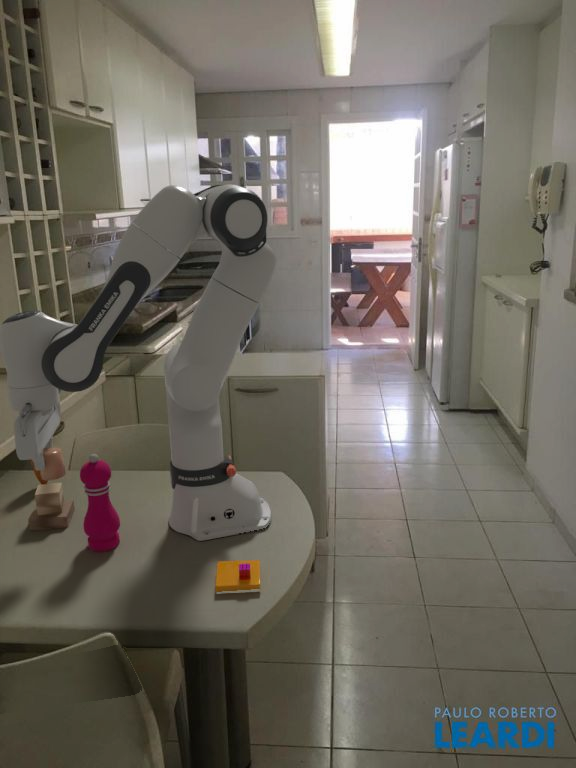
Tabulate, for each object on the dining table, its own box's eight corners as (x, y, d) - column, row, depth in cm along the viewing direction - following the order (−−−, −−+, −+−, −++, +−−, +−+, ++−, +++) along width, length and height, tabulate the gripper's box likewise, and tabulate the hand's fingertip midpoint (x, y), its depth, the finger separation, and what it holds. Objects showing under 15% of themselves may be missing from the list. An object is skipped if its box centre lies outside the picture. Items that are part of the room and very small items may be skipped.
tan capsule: (67, 469, 128) (63, 446, 126) (63, 478, 123) (58, 455, 122) (44, 471, 127) (40, 449, 126) (39, 481, 123) (34, 458, 121)
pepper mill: (96, 533, 134) (85, 446, 128) (128, 536, 133) (118, 448, 127) (79, 551, 127) (67, 460, 121) (112, 554, 126) (101, 462, 120)
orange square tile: (215, 597, 113) (214, 576, 111) (218, 571, 120) (217, 552, 119) (260, 594, 113) (259, 574, 112) (260, 569, 121) (259, 550, 119)
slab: (75, 511, 145) (73, 499, 144) (68, 528, 137) (66, 516, 136) (38, 514, 144) (37, 502, 143) (30, 532, 136) (28, 519, 135)
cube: (64, 502, 143) (61, 482, 141) (61, 512, 138) (59, 492, 136) (41, 505, 141) (38, 485, 140) (37, 515, 137) (34, 494, 135)
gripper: (37, 412, 111) (48, 484, 115) (62, 380, 130) (71, 442, 134) (0, 415, 110) (13, 487, 114) (30, 382, 130) (40, 445, 134)
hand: (44, 462), depth 124 cm, fingers closed on tan capsule, 4 cm apart
